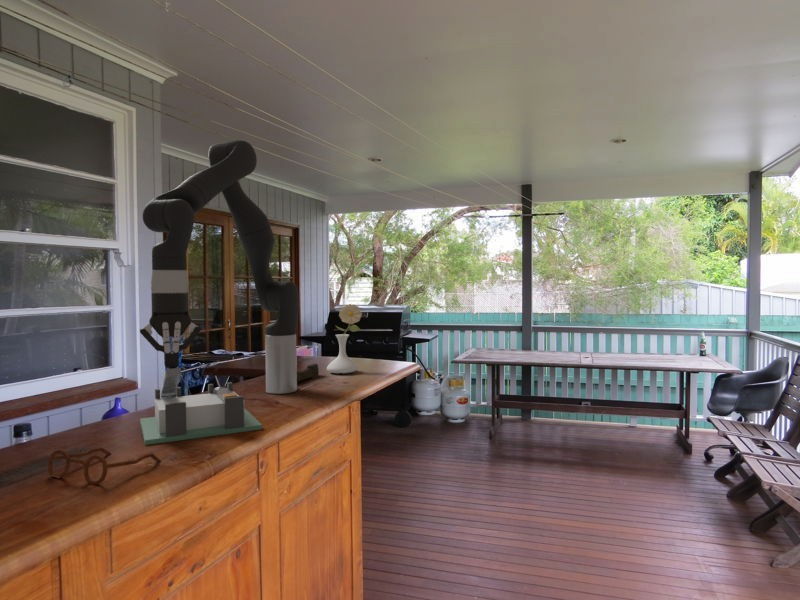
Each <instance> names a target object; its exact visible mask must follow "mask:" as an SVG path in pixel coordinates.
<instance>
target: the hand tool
mask: <svg viewBox="0 0 800 600" xmlns="http://www.w3.org/2000/svg"><path fill="white" fill-rule="evenodd" d="M319 372H320V371H319V365H318V363H313V364H309V365H307V366H306V368H305V369H301V370H297V383H299V382H301V381H305V380H307V379H313V378H312V377H315V378H317V377H318V376H319ZM317 375H318V376H317ZM316 376H317V377H316Z"/></svg>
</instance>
